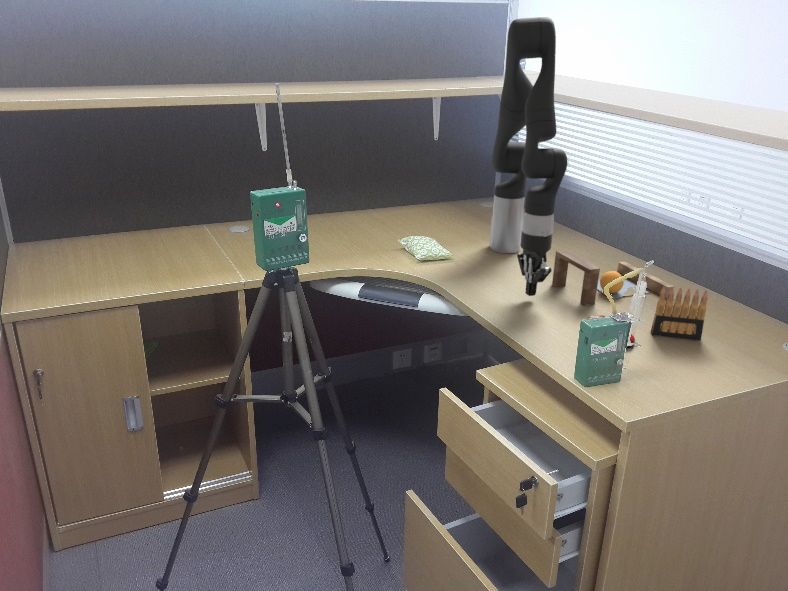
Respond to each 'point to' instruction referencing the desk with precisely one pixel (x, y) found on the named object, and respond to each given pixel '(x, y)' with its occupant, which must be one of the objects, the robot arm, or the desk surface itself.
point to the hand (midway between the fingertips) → (530, 294)
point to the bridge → (589, 269)
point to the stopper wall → (652, 281)
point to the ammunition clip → (679, 316)
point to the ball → (609, 278)
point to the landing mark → (620, 293)
